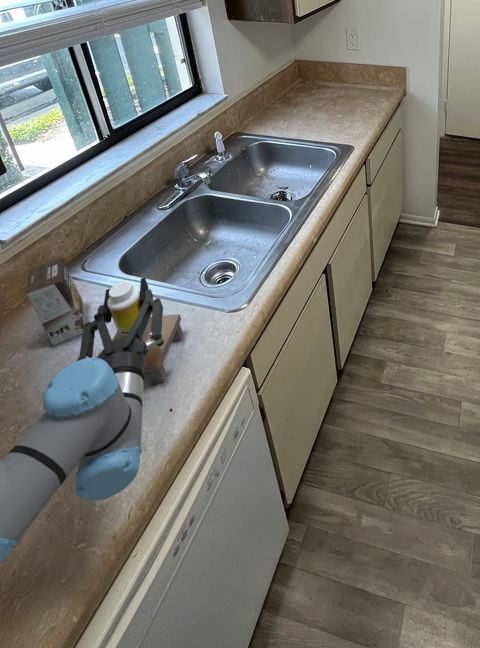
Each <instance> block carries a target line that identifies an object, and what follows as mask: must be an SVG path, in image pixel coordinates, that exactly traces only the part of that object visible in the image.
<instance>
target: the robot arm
mask: <svg viewBox="0 0 480 648" xmlns="http://www.w3.org/2000/svg"><path fill="white" fill-rule="evenodd" d="M110 289H111V288H107V289H105V293H104V300H103V304H101V305H99V306H98V307H97V313H95V314H94V315H93V319H94V320H93V321H87V322H85V324H84V326H83V333H82V334H81V341H80V350H79V355H78V357H77V359H76V361H75V362H72V363H70V364H68V365H67V366H65V367H64V368H63V369H61V370H60V371H58V373H57V374H55V375H54V376H53V378H52V379H50V382H48V384H47V388H46V389H45V391H44V393H43V396H42V403H43V409H44V413H43V414H42V415H41V416H40V417H39V418H38V420H37V421H36V422H35V423H34V424H33V425H32V426H31V427H30V428H29V430H27V432H26V433H25V434H24V435H23V436H22V437H21V438H20V440H19V441H17V442H16V444H15V445H14V446H12V448H10V450H9V452H8V453H7V454H6V455H5V456H4V457H3V458H2V459H0V565H1V564H2V563H3V562H4V561H5V560H6V558H7V557H8V556H9V554H10V553H11V552H12V550H14V549H16V547H17V546H18V545H19V543H20V542H19V541H20V540H21V539H22V537H23V536H24V534H25V533H26V532H27V531H28V530H29V528H30V527H31V525H32V524H33V523H34V521H35V520H36V519H37V517H38V516H39V515H40V514H41V512H42V511H43V510H44V508H45V507H46V505H47V504H48V503H49V501H50V500H51V499H52V497H54V495H55V494H56V492H57V491H58V489H59V488H60V487H61V486H62V484H63V483H64V482H65V481H66V479H68V477H69V476H70V475H71V473H72V472H73V471H74V470H75V468H76V467H77V466H78V467H77V470H76V472H75V476H74V478H75V493H76V495H77V496H78V498H80V499H81V500H83V501H89V502H96V501H97V502H98V501H102V500H106V499H108V498H110V497H113V496H114V495H117V494H120V493H121V492H122V491H124V490H125V489H126V488H127V487H129V486H130V484H132V483H133V481H134V480H135V478H136V477H137V475H138V472H139V468H140V461H141V454H142V451H143V450H142V449H143V448H142V424H143V423H142V421H143V401H144V400H143V399H144V398H143V397H144V379H145V372H144V364H145V356H146V354H147V353H148V349H150V348H152V347H153V346H155V345H157V346H162V345H163V344H164V340H163V338H162V335H161V330H162V317H163V316H164V306H163V304H162V303H163V302H162V301H161V298H159V297H156V298H155V299H154V294H153V291H152V290H151V289H149V285H148V282H147V280H146V277H142V278H140V285H139V292H140V299H139V302H140V304H141V309H140V311H139V314H138V316H137V318H136V320H135V323H134V325H133V327H132V329H130V330H129V333H128V335H127V336H125V337H123V338H121V339H118V340H114V341H112V340H113V339H112V338H111V334H110V331H109V328H108V327H107V326H108V325H107V324H109V323H111V322H112V319H113V318H112V315H111V313H110V310H109V308H108V305H107V302H108V299H109V297H110V296H109V290H110ZM150 317H152V320H151V332H152V333H150V334H149V337H148V341H147V342H146V343H145V342H143V341H142V336H143V333H144V331H145V328H146V326H147V324H148V321H149V319H150ZM96 331H98V333H99V336H100V339H101V343H102V346H103V349H102V350H101V352H100V353H99V354H98V355H97V356H96V357H94V345H95V337H96V336H95V335H96Z"/></svg>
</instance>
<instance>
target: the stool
mask: <svg viewBox="0 0 480 648" xmlns="http://www.w3.org/2000/svg"><path fill="white" fill-rule="evenodd" d="M151 320H152V316H150V319H149V321H148V324H147V326H146V328H145V331H144V333H143V336H142V341H143V342H145V343H146V342H147V341H148V337H149V334H150V333H152V332H151ZM181 320H182V317H181V314H180V313H178V314H169V315H168V314H167V315H163V317H162V330H161V335H162V338H163V340H164V344H163V345H162V346H157V345H155V346H153V347H152V348H150V349H148V353H147V354H146V356H145V364H144V373H146V372H150V373H151V374H152V375H151V376H152V377H153V379H154V382H155V384H161V383H162V384H163V383H165V382H166V381H165V380H166V379H167V375H168V374H167V372H166V370H165V366H164V364H163V363H164V362H165V359H166V356H167V354H168V351H169V349H170V347H171V345H172V343H173V342H177V341H178V342H179V341H181V340H182V339H183V336H184V332H183V329H182V326H181ZM125 336H127V335H123V334H120V333H119V332H118V330H117V331H116V332H115V334H114V336H113V338H112V339H111V340H112V341H114V340H118V339H121V338H123V337H125Z"/></svg>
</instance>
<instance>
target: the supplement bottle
mask: <svg viewBox="0 0 480 648" xmlns="http://www.w3.org/2000/svg"><path fill="white" fill-rule="evenodd" d="M109 289H110V290H109V296H110V297H109V299H108V302H107V305H108V308H109V310H110V313H111V315H112V318H111V319H112V320H113V323H114V325H115V328H116V330H117V331H118V332H119V333H120V334H123V335H128V333H129V330H130V329H132V327H133V325H134V323H135V320H136V318H137V316H138V314H139V311H140V309H141V304H140V302H139V299H140V289H139V288H138V287H136V286H133V284H132V282H131V281H129V280H124V281H120V282H117V283H116V284H114V285H113V286H111V288H109Z"/></svg>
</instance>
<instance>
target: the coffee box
mask: <svg viewBox="0 0 480 648" xmlns="http://www.w3.org/2000/svg"><path fill="white" fill-rule="evenodd" d="M26 296H27V297H28V300H29V302H30V304H31V306H32V307H33V310H34V311H35V314H36V316H37V318H38V319H39V321H40V323H41V325H42V327H43V328H44V331H45V333H46V335H47V336H48V338H49V340H50V342H51V345H52V346H56V345H59V344H61V343H64V342H66V341H68V340H71V339H73V338H76V337H78V336H80V335H82V333H83V326H84V324H85V323H86V305H85V302H84V300H83V298H82V296H81V294H80V292H79V289H78V287H77V285H76V283H75V281H74V278H73V277H72V274H71V272H70V269H69V267H68V266H67V264H66V261H65V259H64V257H63V256H62V257H58V258H55V259H52V260H50V261H47V262H45V263H42V264H40V265H37V266H34V267H31V268H30V269H29V271H28V279H27V285H26Z"/></svg>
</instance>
